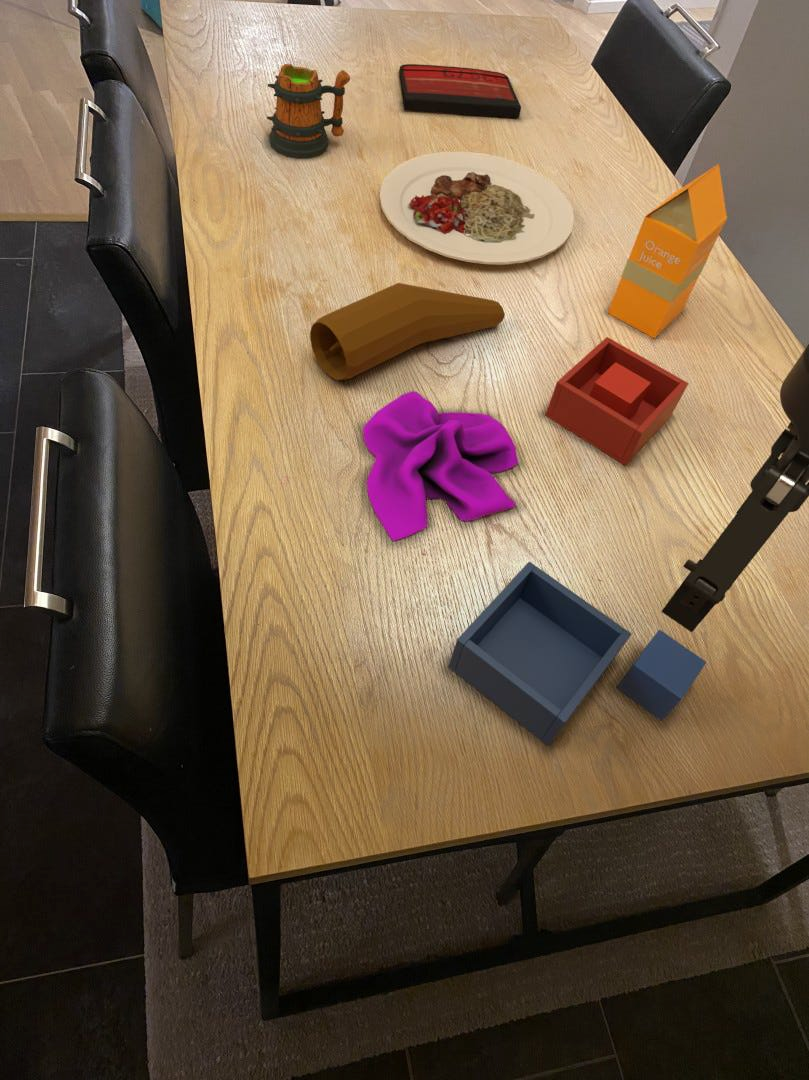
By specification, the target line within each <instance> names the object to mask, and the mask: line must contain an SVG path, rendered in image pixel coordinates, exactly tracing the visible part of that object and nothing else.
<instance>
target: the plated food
mask: <svg viewBox="0 0 809 1080" xmlns="http://www.w3.org/2000/svg"><path fill="white" fill-rule="evenodd" d="M380 185H381V186H380V192H379V201H380V206H381V210H382V211H383V214H384V215H385V217H386V219H387V221H388V222H389V223H390V224H391V225H392V226H393V227H394V228H395V230H397V231H398V232H399V233H400V234H401V235H403V236H404V237H405V238H407V239H408V240H409V241H411V242H412V243H414V244H416V245H418V246H420V247H422V248H424V249H425V250H428V251H431V252H432V253H433V252H434V253H436V254H438V255H441V256H443V257H446V258H449V259H454V260H458V261H462V262H466V263H473V264H481V265H482V264H483V265H513V264H514V265H515V264H521V263H526V262H531V261H534V260H538V259H542V258H544V257H546V256H547V255H550V254H552V253H554V252H555V251H557V250H559V248H561V247H562V246H563V245H565V243H566V242H567V240H568V239H569V238H570V236H571V235H572V232H573V229H574V224H575V213H574V209H573V205H572V204H571V201H570V199H569V198H568V197H567V195H566V194H565V193H564V191H562V189H561V188H560V187H559V186H558V185H557V184H555V183H554V182H553V181H552V180H551V179H549V178H548V177H546V176H545V175H543V174H542V173H540V172H538V171H537V170H535V169H533V168H530V167H528V166H526V165H525V164H522V163H519V162H516V161H515V160H511V159H508V158H505V157H502V156H497V155H493V154H488V153H482V152H474V151H459V150H458V151H456V150H452V151H437V152H431V153H426V154H422V155H418V156H415V157H412V158H410V159H407V160H405V161H403V162H401V163H400V164H398V165H396V166H394V167H393V168H392V169H391V171H390V172H389V173H388V174H386V176H385V177H384V179H383V181H382V183H381V184H380Z"/></svg>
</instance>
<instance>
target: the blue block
mask: <svg viewBox="0 0 809 1080" xmlns="http://www.w3.org/2000/svg"><path fill="white" fill-rule="evenodd" d="M632 663H633V664H632V665H631V666H630V668H629V669H628V670H627V671H626V673H625V674H624V676H622V679H621V680H620V681H619V683H618V684H617V685H616V689H617V690H618V691H620V692H621V693H623V694H624V695H625V696H626V697H628V698H629V699H631V701H634V702H635V703H636V704H637V705H638V706H640V707H642V708H643V709H644V710H645V711H647V712H648V713H650V714H651V715H652V716H654V717H655V718H657V719H658V720H659V721H663V720H664V719H665V718H666V716H668V715H669V714H670V712H672V710H674V709H675V707H677V705H679V704H680V702H681V701H682V700H683V699H684V697H685V696H686V695H687V693H688V691H689V690H690V688H692V686H693V683H694V682H695V681H696V679H697V678H698V676H699V675H700V673H701V672H702V670H703V669H704V667H705V666H706V664H707V661H706V660H705V659H703V658H702V657H700V656H699V655H697V654H696V653H695V652H693V651H691V650H690V649H689V648H687V647H685V646H684V644H682V643H680V642H679V641H677V640H676V639H674V638H673V637H672V636H670V635H669V634H667V633H666V632H664V631H663V630H661V629H658V631H656V633H655V634H654V636H653V637H652V638H651V640H649V642H648V643H647V645H646V646H645V647H644V649H643V650H642V651H641V652H640V654H639V655H638V656H637V658H636V659H635V661H634V662H632Z"/></svg>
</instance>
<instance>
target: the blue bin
mask: <svg viewBox="0 0 809 1080" xmlns="http://www.w3.org/2000/svg"><path fill="white" fill-rule="evenodd" d="M632 634H633V633H632V632H630V631H629V630H628V629H626V628H625V627H623V626H622V625H621V624H620V623H618V622H616V621H614V620H613V619H612V618H610V617H609V616H608V615H606V614H605V613H604V612H602V611H600V610H599V609H598V608H596V607H595V606H593V605H592V604H591V603H590V602H588V601H586V600H585V599H584V598H582V597H581V596H579V595H578V594H577V593H575V592H573V591H572V590H570V589H569V588H568V587H566V586H565V585H564V584H562V583H561V582H560V581H558V580H557V579H555V578H554V577H552V576H551V575H550V574H548V573H547V572H545V571H544V570H543V569H541V568H539V566H536V565H535V564H534V563H532V562H531V561H528V562H526V564H525V565H524V566H523V567H522V568H521V570H520V571H519V572H518V573H517V574H516V575H515V576H514V577H513V578H512V579H511V581H510V582H508V584H507V585H506V586H504V588H503V589H502V590H501V591H500V592H499V593H498V594H497V596H496V597H494V599H493V600H492V601H491V602H490V603H489V604H488V606H487V607H485V609H483V610H482V612H481V613H480V614H479V615H478V616H477V617H476V619H474V620H473V621H472V623H471V624H470V625H469V626H468V627H467V628H466V629H465V630H464V631H463V632H462V633H461V634H460V636H459V637H458V638H457V639H456V642H455V645H454V648H453V650H452V654H451V657H450V660H449V663H448V666H447V667H448V668H449V669H450V670H451V671H452V672H453V673H455V674H456V675H457V676H458V677H460V678H461V679H463V680H464V681H465V682H466V683H467V684H468V685H470V686H471V687H473V688H474V689H475V690H476V691H477V692H479V693H480V694H481V695H482V696H484V697H485V698H487V699H488V700H489V701H490V702H492V703H493V704H494V705H495V706H496V707H498V708H499V709H500V710H502V712H504V713H505V714H507V715H508V716H509V717H511V718H512V719H513V720H514V721H516V723H518V724H519V725H521V726H522V727H523V728H524V729H526V731H528V732H529V733H530V734H532V735H533V736H534V737H536V738H537V739H538V740H540V741H541V742H542V743H543V744H544V745H546V746H547V747H549V746H550V745H551V744H552V743H553V741H554V740H555V738H556V737H557V736H558V734H559V733H560V732H561V731H562V729H563V728H564V726H565V725H566V724H567V723H568V721H569V720H570V719H571V717H572V716H573V714H574V713H575V712H576V710H577V709H578V708H579V706H581V704H582V702H583V701H584V700H585V698H586V697H587V696H588V694H589V693H590V692H591V690H592V689H593V688H594V687H595V685H596V684H597V682H599V680H600V678H601V677H602V676H603V674H604V673H605V672H606V670H607V669H608V668H609V666H610V665H611V664H612V662H613V661H614V660H615V658H616V657H617V656H618V654H619V653H620V652H621V650H622V649H623V647H624V646H625V644H626V643H627V642H628V640H629V639H630V638H631V636H632Z"/></svg>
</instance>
